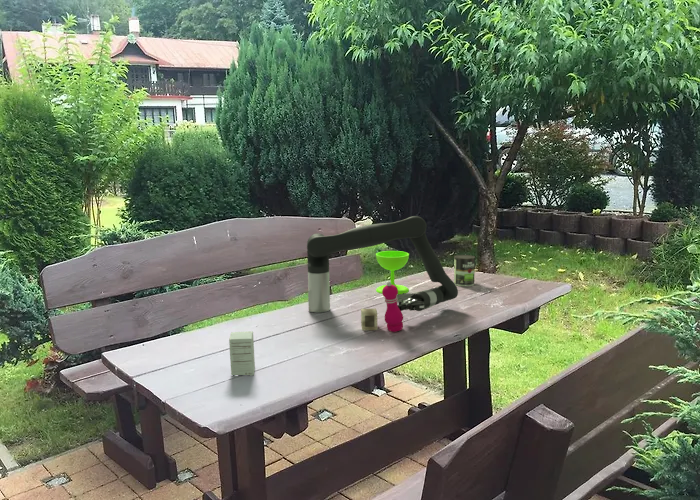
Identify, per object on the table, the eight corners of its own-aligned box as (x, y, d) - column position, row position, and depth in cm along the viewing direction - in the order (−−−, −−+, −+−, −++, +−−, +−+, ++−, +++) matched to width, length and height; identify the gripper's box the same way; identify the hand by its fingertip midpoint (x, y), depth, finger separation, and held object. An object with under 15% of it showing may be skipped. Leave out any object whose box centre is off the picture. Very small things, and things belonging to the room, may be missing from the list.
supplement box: (232, 368, 204) (230, 331, 202) (255, 367, 205) (253, 330, 203) (230, 376, 197) (228, 339, 195) (253, 375, 198) (252, 338, 195)
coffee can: (478, 285, 306) (479, 257, 304) (460, 287, 303) (461, 259, 300) (467, 280, 316) (468, 253, 313) (449, 282, 312) (450, 255, 309)
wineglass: (415, 291, 297) (416, 254, 294) (389, 296, 288) (389, 258, 285) (395, 284, 310) (395, 249, 307) (369, 289, 301) (369, 253, 298)
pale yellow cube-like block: (362, 330, 240) (361, 313, 239) (361, 325, 247) (361, 308, 245) (377, 330, 240) (377, 313, 239) (376, 325, 247) (376, 308, 245)
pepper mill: (403, 332, 237) (396, 285, 229) (384, 332, 238) (377, 286, 231) (405, 322, 243) (399, 277, 236) (387, 323, 245) (380, 278, 237)
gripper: (410, 288, 257) (384, 296, 244) (437, 293, 248) (411, 302, 236) (410, 306, 258) (384, 314, 246) (436, 311, 250) (411, 321, 237)
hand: (397, 308), depth 241 cm, fingers closed
